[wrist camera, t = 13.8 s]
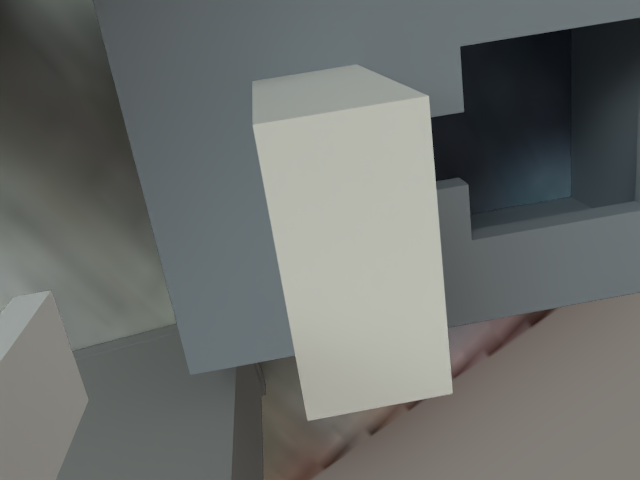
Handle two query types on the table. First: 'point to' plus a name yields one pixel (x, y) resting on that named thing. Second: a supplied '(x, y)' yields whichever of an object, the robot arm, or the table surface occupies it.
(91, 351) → the cassette tape recorder
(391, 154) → the peg
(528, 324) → the table surface
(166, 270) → the keyhole box
